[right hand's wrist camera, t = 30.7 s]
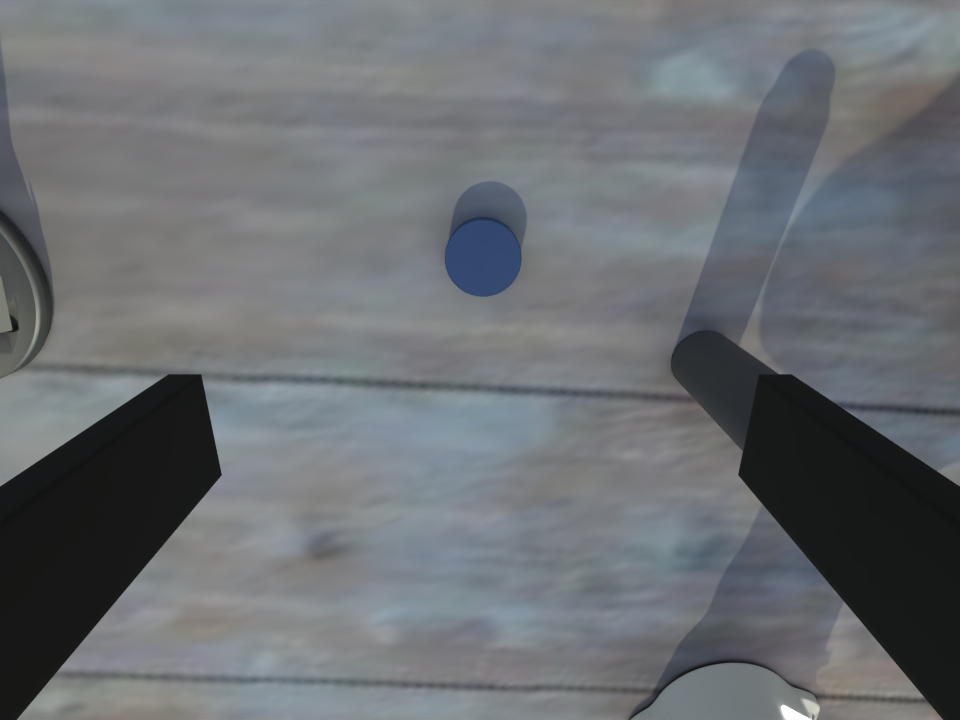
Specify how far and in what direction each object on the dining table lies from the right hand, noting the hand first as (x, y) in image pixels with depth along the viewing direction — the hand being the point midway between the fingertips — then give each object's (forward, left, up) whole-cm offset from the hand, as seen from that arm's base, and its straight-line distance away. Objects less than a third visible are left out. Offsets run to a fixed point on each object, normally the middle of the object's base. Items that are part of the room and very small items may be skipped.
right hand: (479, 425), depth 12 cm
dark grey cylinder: (+14, +12, -26) cm, 32 cm away
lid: (0, 0, -24) cm, 25 cm away
